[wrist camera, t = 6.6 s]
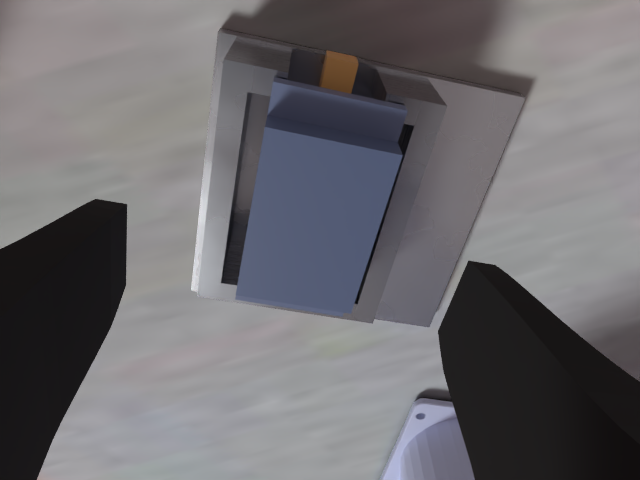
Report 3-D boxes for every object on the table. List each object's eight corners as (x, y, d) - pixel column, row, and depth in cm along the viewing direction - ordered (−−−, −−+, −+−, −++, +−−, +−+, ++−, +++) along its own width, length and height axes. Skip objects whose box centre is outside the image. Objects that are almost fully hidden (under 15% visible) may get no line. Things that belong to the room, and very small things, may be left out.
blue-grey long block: (337, 263, 23) (343, 335, 19) (245, 247, 22) (231, 317, 18) (397, 61, 18) (420, 101, 14) (282, 35, 18) (274, 69, 14)
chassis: (426, 319, 25) (442, 373, 22) (193, 282, 24) (176, 335, 21) (520, 93, 19) (558, 125, 16) (220, 28, 18) (202, 51, 15)
